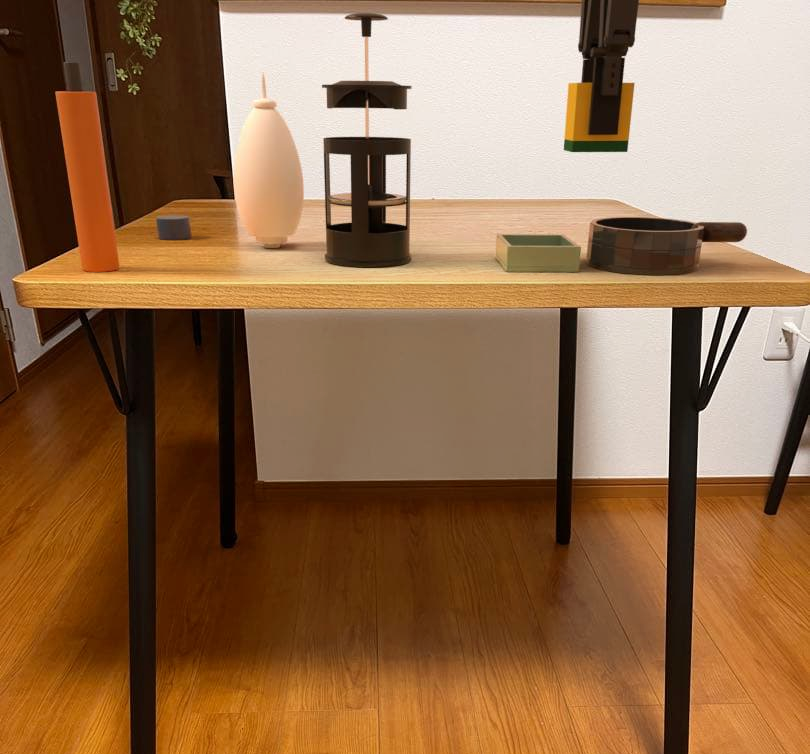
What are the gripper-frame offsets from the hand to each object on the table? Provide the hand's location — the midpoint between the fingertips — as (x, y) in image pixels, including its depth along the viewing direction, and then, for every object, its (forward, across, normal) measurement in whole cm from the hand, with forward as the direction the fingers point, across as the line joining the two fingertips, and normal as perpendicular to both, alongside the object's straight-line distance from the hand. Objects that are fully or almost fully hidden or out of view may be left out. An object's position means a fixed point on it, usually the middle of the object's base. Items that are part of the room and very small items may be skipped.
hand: (596, 133), depth 86 cm
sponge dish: (+13, -2, -5) cm, 14 cm away
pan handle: (+11, -1, +14) cm, 18 cm away
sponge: (+2, 0, 0) cm, 2 cm away
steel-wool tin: (+12, -21, -46) cm, 52 cm away
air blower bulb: (+13, -14, -34) cm, 39 cm away
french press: (+13, -5, -23) cm, 26 cm away
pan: (+13, -2, +6) cm, 15 cm away
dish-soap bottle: (+12, +1, -50) cm, 51 cm away
